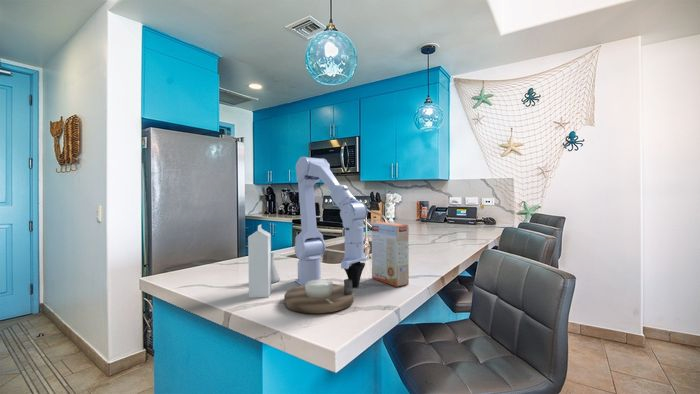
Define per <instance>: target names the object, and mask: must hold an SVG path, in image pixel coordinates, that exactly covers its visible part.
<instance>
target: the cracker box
mask: <svg viewBox="0 0 700 394" xmlns="http://www.w3.org/2000/svg"><path fill="white" fill-rule="evenodd" d="M409 258H410V257H409V224H403V223H397V222H396V223H395V222H388V221H376V222H372V223H371V278H372V279H373V280H376V281H379V282H382V283H385V284H388V285H390V286H393V287H395V288H396V287H397V288H399V287H403V286H407V285H409V280H410V279H409V277H410V275H409V274H410V273H409V265H410V264H409Z"/></svg>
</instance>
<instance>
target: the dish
mask: <svg viewBox="0 0 700 394" xmlns="http://www.w3.org/2000/svg"><path fill="white" fill-rule="evenodd" d="M333 284H334V283H333V281H331V280H328V279H321V280H311V281H308V282H306V283H305V295H306V296H308V297H311V298H324V297H328V296H331V295H332V294H333Z"/></svg>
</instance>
